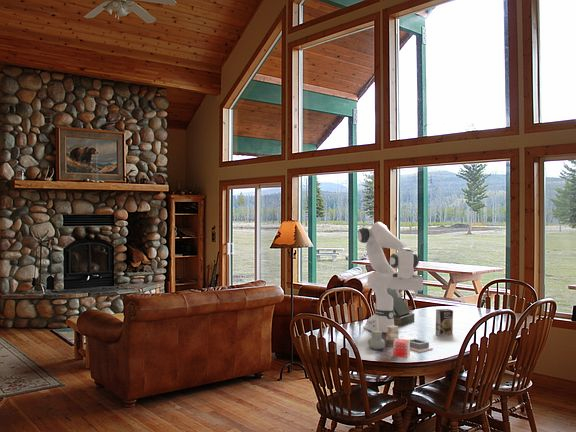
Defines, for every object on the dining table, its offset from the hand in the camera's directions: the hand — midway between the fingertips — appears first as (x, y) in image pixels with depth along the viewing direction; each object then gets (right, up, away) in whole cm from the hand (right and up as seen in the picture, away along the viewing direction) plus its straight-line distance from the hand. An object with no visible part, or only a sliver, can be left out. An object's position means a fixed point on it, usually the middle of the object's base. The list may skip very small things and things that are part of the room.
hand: (406, 297), depth 328 cm
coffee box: (+30, -28, +26) cm, 48 cm away
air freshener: (-20, -28, -12) cm, 36 cm away
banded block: (-8, -28, +2) cm, 29 cm away
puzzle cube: (-8, -28, -25) cm, 39 cm away
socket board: (+4, -28, -11) cm, 30 cm away
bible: (+5, -28, +63) cm, 69 cm away
